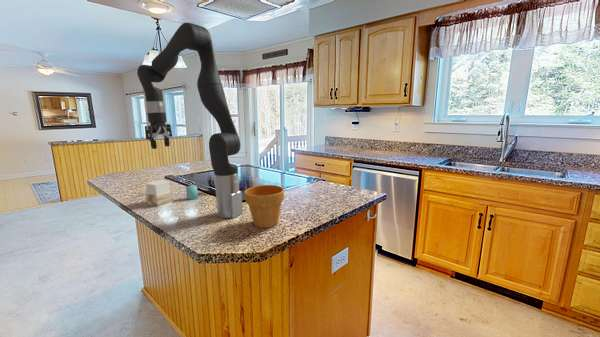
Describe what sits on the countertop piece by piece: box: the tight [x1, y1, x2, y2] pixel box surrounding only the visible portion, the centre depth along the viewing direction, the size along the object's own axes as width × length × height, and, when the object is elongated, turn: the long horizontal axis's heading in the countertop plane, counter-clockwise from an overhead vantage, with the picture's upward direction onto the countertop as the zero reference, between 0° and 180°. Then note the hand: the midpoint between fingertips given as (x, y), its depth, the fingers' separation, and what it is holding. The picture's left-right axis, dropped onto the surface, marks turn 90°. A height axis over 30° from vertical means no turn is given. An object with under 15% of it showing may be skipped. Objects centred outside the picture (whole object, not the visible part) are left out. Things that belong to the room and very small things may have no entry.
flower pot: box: [244, 184, 285, 229], centre depth 104 cm, size 14×14×13 cm
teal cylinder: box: [185, 184, 199, 201], centre depth 136 cm, size 5×5×6 cm
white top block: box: [145, 179, 171, 196], centre depth 130 cm, size 7×7×5 cm
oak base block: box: [145, 190, 174, 207], centre depth 131 cm, size 8×8×5 cm
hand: (161, 147), depth 130 cm, fingers open, 8 cm apart
